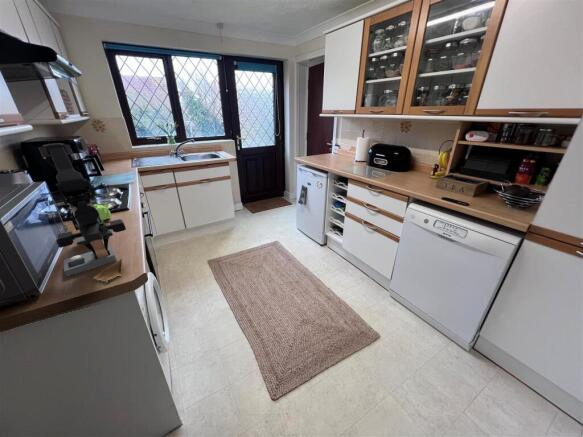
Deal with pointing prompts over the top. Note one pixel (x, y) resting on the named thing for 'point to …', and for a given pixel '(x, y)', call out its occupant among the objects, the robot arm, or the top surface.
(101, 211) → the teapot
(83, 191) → the robot arm
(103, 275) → the shard
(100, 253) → the brown wooden block
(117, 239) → the top surface
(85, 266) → the board
